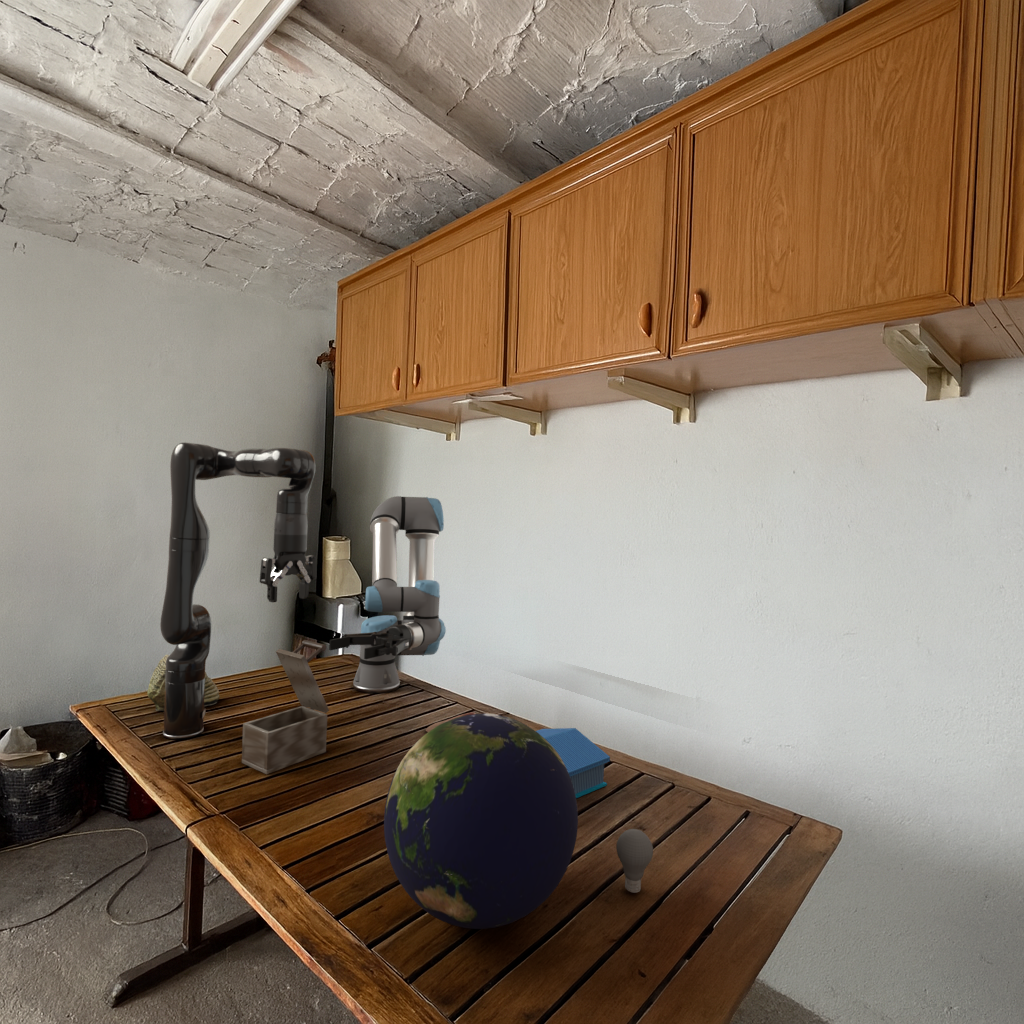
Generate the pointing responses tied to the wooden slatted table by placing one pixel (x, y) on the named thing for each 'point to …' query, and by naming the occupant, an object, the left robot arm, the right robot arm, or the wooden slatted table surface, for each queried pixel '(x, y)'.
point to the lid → (303, 675)
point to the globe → (480, 821)
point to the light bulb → (634, 857)
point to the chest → (284, 739)
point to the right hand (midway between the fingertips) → (347, 649)
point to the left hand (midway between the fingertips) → (288, 600)
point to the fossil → (158, 687)
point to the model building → (578, 758)
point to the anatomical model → (446, 721)
